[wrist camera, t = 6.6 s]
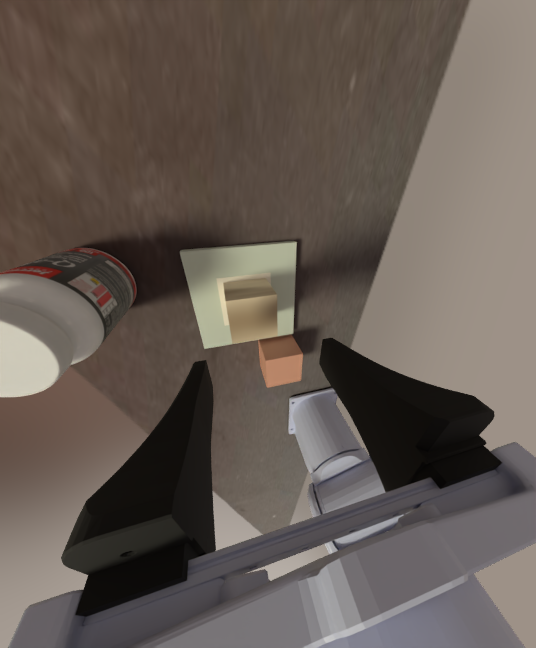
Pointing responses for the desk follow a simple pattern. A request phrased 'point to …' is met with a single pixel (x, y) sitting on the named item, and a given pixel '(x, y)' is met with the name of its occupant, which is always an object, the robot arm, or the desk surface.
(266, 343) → the terracotta cube
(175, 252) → the desk surface
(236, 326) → the beech cube
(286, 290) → the board
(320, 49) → the desk surface
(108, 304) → the pill bottle
